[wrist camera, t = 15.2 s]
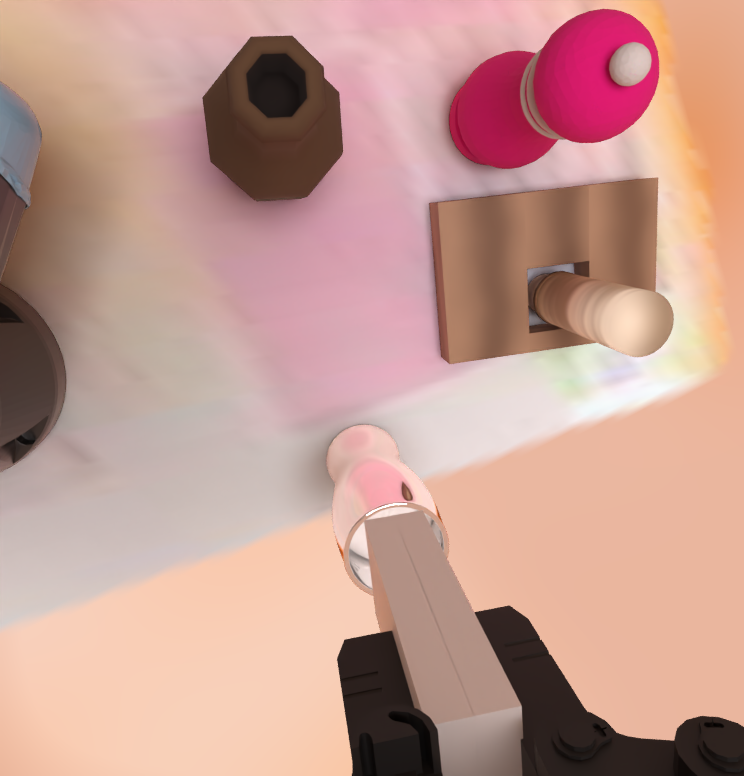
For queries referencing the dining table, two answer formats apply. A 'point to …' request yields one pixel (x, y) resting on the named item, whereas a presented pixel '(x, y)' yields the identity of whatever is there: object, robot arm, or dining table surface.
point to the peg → (603, 311)
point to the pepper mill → (557, 91)
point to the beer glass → (372, 494)
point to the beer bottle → (273, 120)
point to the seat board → (533, 259)
